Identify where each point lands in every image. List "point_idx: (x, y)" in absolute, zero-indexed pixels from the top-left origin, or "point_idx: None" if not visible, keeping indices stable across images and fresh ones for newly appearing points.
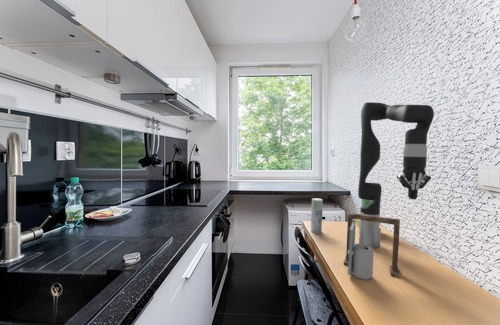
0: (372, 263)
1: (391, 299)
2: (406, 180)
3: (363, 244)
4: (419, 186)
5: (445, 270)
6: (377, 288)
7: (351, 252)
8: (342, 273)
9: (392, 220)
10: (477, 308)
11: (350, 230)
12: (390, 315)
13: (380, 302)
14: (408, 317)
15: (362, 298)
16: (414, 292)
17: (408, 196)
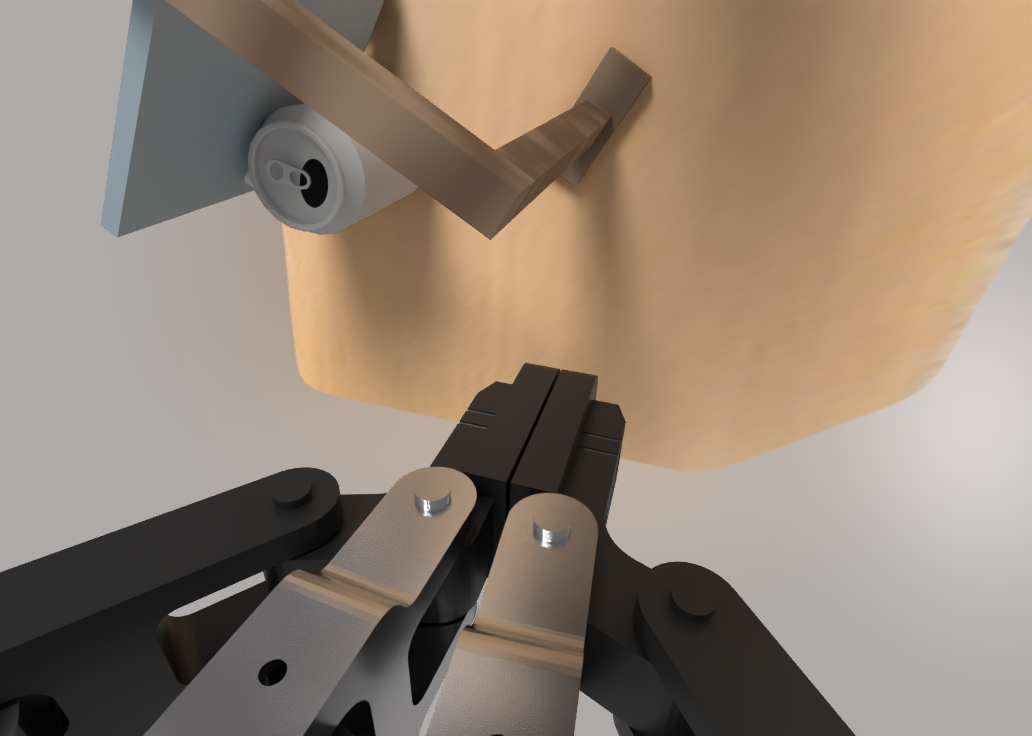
0: (379, 209)
1: (427, 326)
2: (230, 641)
3: (309, 136)
4: (615, 693)
5: (1008, 123)
6: (412, 256)
7: (237, 194)
8: None
9: (435, 194)
10: (714, 426)
11: (111, 225)
12: (380, 388)
13: (380, 333)
14: (428, 405)
15: (329, 304)
16: (551, 305)
17: (487, 393)
